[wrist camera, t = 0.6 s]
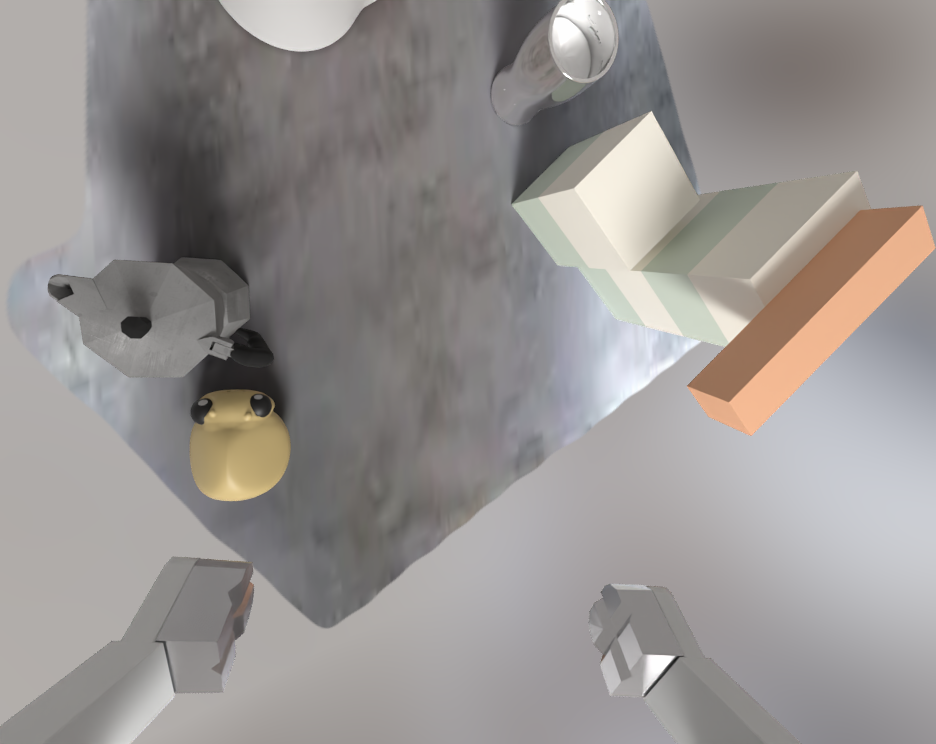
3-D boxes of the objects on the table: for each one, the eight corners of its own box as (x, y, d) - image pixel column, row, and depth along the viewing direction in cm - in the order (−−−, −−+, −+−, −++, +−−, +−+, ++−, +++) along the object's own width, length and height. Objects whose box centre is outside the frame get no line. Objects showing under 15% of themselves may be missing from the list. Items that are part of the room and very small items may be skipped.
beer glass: (508, 46, 48) (577, -36, 34) (553, 90, 51) (635, 30, 37) (475, 102, 49) (531, 44, 35) (522, 143, 51) (591, 104, 37)
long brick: (708, 416, 36) (751, 435, 32) (686, 386, 35) (728, 402, 31) (874, 248, 36) (935, 248, 33) (860, 210, 35) (922, 205, 31)
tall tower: (616, 319, 61) (795, 364, 37) (577, 266, 57) (750, 279, 34) (675, 259, 62) (892, 266, 38) (640, 203, 58) (857, 170, 34)
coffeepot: (119, 314, 44) (-10, 352, 28) (151, 228, 43) (37, 215, 27) (272, 369, 50) (241, 429, 33) (304, 295, 49) (288, 319, 32)
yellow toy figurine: (291, 374, 51) (281, 404, 41) (295, 466, 54) (286, 515, 44) (196, 375, 48) (160, 408, 38) (206, 473, 51) (175, 526, 41)
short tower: (557, 265, 57) (629, 271, 43) (511, 204, 53) (573, 188, 39) (611, 212, 57) (700, 200, 43) (568, 146, 53) (651, 110, 39)
